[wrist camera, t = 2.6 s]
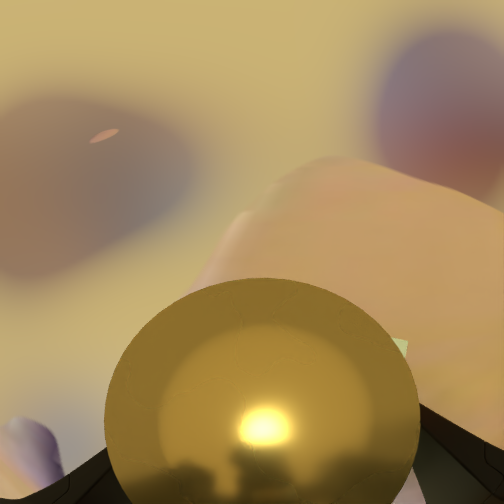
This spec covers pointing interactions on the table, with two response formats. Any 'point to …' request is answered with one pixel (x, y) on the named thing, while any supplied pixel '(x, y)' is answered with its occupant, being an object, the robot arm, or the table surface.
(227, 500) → the brass cover
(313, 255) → the table surface
